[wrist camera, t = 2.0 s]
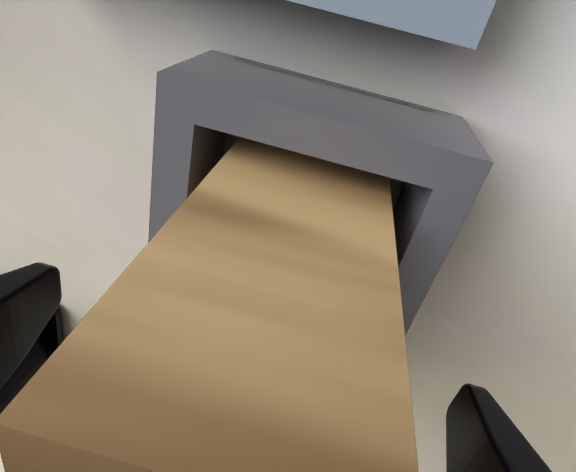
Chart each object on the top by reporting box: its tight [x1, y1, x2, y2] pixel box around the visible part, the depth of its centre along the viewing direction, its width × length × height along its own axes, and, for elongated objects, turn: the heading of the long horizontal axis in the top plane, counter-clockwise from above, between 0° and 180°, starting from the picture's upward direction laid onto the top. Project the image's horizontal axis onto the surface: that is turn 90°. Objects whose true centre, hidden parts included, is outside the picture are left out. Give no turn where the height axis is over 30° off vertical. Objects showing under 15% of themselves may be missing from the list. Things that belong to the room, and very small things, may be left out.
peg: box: [0, 137, 419, 472], centre depth 10 cm, size 4×4×11 cm
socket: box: [148, 50, 493, 335], centre depth 14 cm, size 8×8×4 cm
